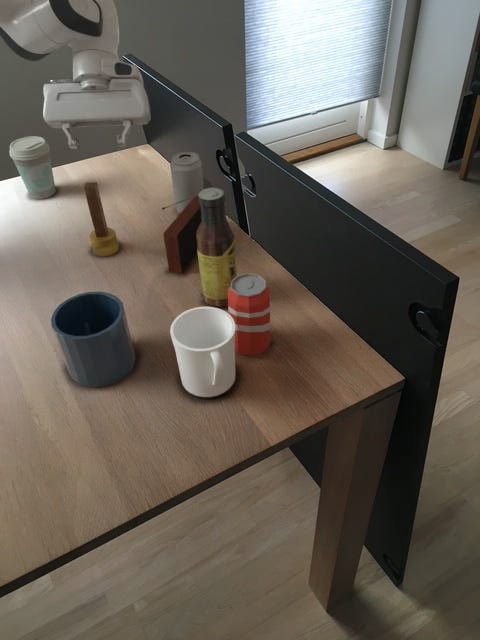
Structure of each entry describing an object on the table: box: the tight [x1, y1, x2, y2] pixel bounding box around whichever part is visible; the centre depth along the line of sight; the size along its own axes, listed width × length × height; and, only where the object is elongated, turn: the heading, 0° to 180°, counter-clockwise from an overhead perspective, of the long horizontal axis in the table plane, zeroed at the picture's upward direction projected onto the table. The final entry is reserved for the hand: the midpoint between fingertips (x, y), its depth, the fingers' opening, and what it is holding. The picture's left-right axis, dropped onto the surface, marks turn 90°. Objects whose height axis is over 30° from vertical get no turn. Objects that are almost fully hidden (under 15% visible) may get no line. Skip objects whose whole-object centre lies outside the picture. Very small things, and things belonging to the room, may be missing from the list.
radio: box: [162, 190, 202, 275], centre depth 99 cm, size 19×3×15 cm, turn 159°
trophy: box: [83, 181, 120, 257], centre depth 102 cm, size 5×5×14 cm
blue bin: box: [50, 291, 136, 388], centre depth 80 cm, size 10×10×10 cm
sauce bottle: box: [196, 187, 238, 308], centre depth 87 cm, size 7×6×20 cm
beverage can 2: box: [227, 272, 271, 356], centre depth 81 cm, size 6×6×12 cm
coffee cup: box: [9, 135, 57, 200], centre depth 121 cm, size 8×8×12 cm
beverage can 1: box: [169, 151, 205, 214], centre depth 112 cm, size 6×6×12 cm
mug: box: [169, 306, 236, 400], centre depth 76 cm, size 11×9×10 cm
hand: (98, 147), depth 103 cm, fingers open, 8 cm apart
